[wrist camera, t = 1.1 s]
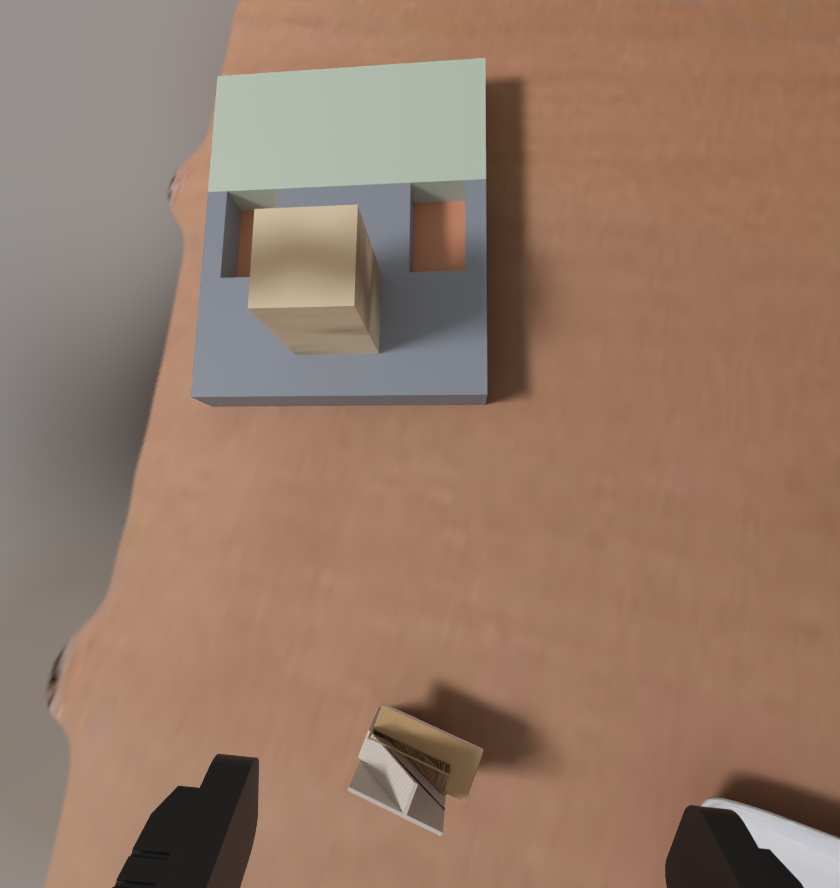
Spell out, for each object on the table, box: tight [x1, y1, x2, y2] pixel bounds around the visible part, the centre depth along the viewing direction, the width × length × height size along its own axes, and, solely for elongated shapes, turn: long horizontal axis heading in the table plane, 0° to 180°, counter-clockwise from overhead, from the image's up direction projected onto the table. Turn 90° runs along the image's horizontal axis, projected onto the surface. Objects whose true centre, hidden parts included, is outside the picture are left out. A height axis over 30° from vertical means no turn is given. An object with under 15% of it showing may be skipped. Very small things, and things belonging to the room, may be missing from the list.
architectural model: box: [348, 703, 483, 836], centre depth 31 cm, size 3×7×8 cm, turn 68°
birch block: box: [248, 205, 381, 355], centre depth 32 cm, size 6×6×8 cm
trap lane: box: [191, 58, 487, 406], centre depth 39 cm, size 26×21×3 cm
